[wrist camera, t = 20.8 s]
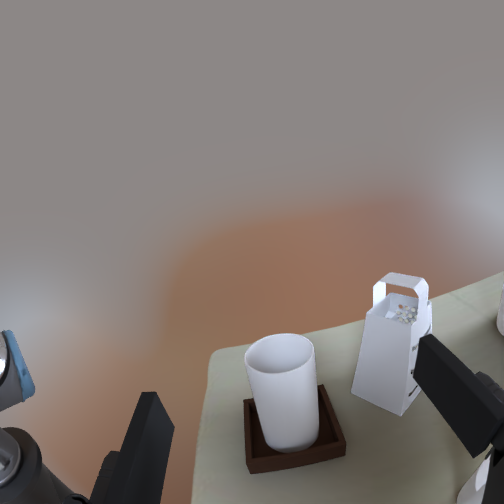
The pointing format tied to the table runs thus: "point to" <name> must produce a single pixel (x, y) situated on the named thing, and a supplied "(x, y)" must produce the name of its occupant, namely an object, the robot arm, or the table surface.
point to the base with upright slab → (475, 486)
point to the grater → (392, 345)
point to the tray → (269, 459)
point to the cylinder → (501, 314)
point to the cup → (285, 390)
